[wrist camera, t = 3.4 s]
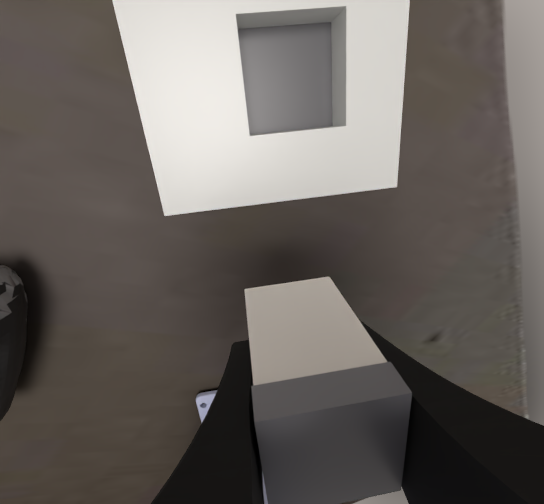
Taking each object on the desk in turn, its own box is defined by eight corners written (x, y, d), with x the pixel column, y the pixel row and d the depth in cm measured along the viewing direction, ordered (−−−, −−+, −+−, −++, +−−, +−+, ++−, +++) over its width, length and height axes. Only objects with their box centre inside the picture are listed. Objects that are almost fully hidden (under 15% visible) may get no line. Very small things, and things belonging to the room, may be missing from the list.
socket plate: (377, 180, 19) (402, 188, 17) (172, 205, 18) (162, 218, 15) (391, -127, 14) (431, -190, 11) (98, -118, 13) (62, -185, 10)
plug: (332, 345, 14) (400, 490, 8) (253, 358, 13) (270, 518, 8) (330, 275, 12) (412, 392, 7) (242, 288, 12) (254, 422, 6)
